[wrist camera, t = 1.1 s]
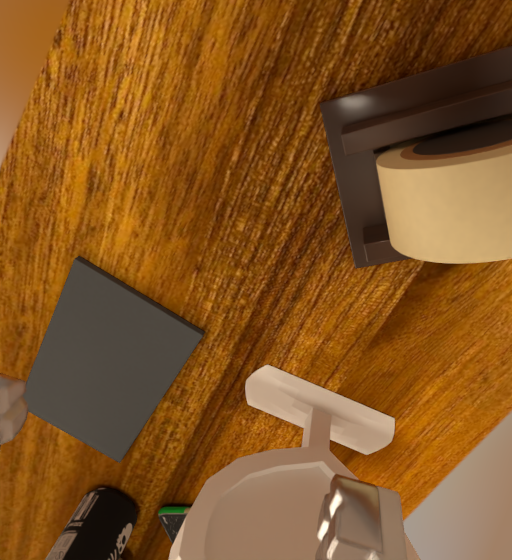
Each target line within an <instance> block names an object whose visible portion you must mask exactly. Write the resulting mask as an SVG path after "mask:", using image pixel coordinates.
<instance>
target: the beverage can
mask: <svg viewBox="0 0 512 560" xmlns="http://www.w3.org/2000/svg"><path fill="white" fill-rule="evenodd" d="M136 522H137V514H136V510H135V506H134V504H133V502H132V501H131V500H130V499H129V498H128V497H127V496H126V495H124V494H123V493H121V492H119V491H117V490H114V489H110V488H99V489H96V490H94V491H91V492H89V493H87V494H86V495H85V496H84V498H83V499H82V501H81V503H80V504H79V506H78V507H77V509H76V511H75V512H74V514H73V515H72V517H71V519H70V520H69V522H68V524H67V525H66V527H65V528H64V530H63V532H62V533H61V535H60V536H59V538H58V540H57V541H56V543H55V545H54V546H53V548H52V549H51V551H50V553H49V554H48V556H47V557H46V559H45V560H119V558H120V556H121V554H122V552H123V550H124V547H125V545H126V543H127V541H128V539H129V537H130V535H131V533H132V530H133V528H134V526H135V524H136Z"/></svg>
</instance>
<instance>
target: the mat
mask: <svg viewBox="0 0 512 560" xmlns="http://www.w3.org/2000/svg"><path fill="white" fill-rule="evenodd" d="M204 333H205V332H204V331H202V330H201V329H199V328H198V327H196V326H194V325H193V324H191V323H189V322H188V321H186V320H184V319H183V318H181V317H179V316H178V315H176V314H174V313H173V312H171V311H169V310H168V309H166V308H164V307H163V306H161V305H159V304H158V303H156V302H154V301H153V300H151V299H149V298H148V297H146V296H144V295H143V294H141V293H140V292H138V291H136V290H135V289H133V288H131V287H130V286H128V285H126V284H125V283H123V282H121V281H120V280H118V279H116V278H115V277H113V276H111V275H110V274H108V273H106V272H105V271H103V270H101V269H100V268H98V267H96V266H95V265H93V264H91V263H90V262H88V261H86V260H85V259H83V258H82V257H80V256H78V257H77V258H75V260H74V262H73V265H72V267H71V270H70V273H69V275H68V278H67V280H66V283H65V285H64V288H63V290H62V293H61V296H60V298H59V301H58V303H57V306H56V308H55V311H54V314H53V316H52V319H51V321H50V324H49V326H48V329H47V331H46V334H45V337H44V339H43V342H42V344H41V347H40V349H39V352H38V354H37V357H36V360H35V362H34V365H33V367H32V370H31V372H30V375H29V377H28V380H27V383H26V392H25V393H24V394H23V395H22V397H23V398H24V399H25V401H26V402H27V403H28V411H29V412H31V413H32V414H34V415H36V416H38V417H39V418H41V419H43V420H45V421H47V422H48V423H50V424H52V425H54V426H55V427H57V428H59V429H61V430H62V431H64V432H66V433H68V434H70V435H71V436H73V437H75V438H77V439H78V440H80V441H82V442H84V443H85V444H87V445H89V446H91V447H92V448H94V449H96V450H98V451H100V452H101V453H103V454H105V455H107V456H108V457H110V458H112V459H114V460H115V461H117V462H119V463H120V462H121V460H122V459H123V457H124V456H125V454H126V453H127V451H128V450H129V448H130V446H131V445H132V443H133V442H134V440H135V439H136V437H137V436H138V434H139V433H140V431H141V430H142V428H143V427H144V425H145V424H146V422H147V421H148V419H149V417H150V416H151V414H152V413H153V411H154V410H155V408H156V407H157V405H158V404H159V402H160V401H161V399H162V398H163V396H164V395H165V393H166V392H167V390H168V388H169V387H170V385H171V384H172V382H173V381H174V379H175V378H176V376H177V375H178V373H179V372H180V370H181V369H182V367H183V366H184V364H185V363H186V361H187V359H188V358H189V356H190V355H191V353H192V352H193V350H194V349H195V347H196V346H197V344H198V343H199V341H200V340H201V338H202V337H203V335H204Z"/></svg>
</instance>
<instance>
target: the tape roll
mask: <svg viewBox="0 0 512 560" xmlns="http://www.w3.org/2000/svg"><path fill="white" fill-rule="evenodd" d="M376 165H377V170H378V176H379V182H380V187H381V193H382V199H383V204H384V210H385V215H386V221H387V227H388V232H389V238H390V242H391V245H392V246H393V247H394V249H395V250H397V251H398V252H399V253H401V254H403V255H405V256H408V257H411V258H414V259H418V260H423V261H429V262H437V263H481V262H492V261H499V260H506V259H511V258H512V115H505V116H499V117H496V118H492V119H488V120H484V121H480V122H476V123H472V124H468V125H465V126H461V127H457V128H453V129H449V130H445V131H441V132H437V133H434V134H430V135H426V136H422V137H418V138H414V139H411V140H408V141H406V142H403V143H401V144H399V145H397V146H395V147H393V148H391V149H389V150H387V151H385V152H384V153H383V154H381V155H380V156H379V157H378V158H377V160H376Z"/></svg>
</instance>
